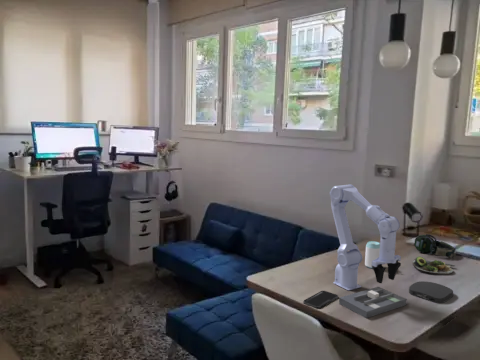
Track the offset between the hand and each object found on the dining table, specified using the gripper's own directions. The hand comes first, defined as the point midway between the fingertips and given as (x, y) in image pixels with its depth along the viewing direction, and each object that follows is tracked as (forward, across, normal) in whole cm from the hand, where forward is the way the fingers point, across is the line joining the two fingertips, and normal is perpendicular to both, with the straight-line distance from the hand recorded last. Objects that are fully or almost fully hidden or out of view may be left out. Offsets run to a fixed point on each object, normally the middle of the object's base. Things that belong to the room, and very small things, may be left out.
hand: (385, 280), depth 169 cm
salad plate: (+9, +50, +14) cm, 52 cm away
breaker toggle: (+5, -6, 0) cm, 9 cm away
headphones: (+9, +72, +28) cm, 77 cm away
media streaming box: (+9, +22, -5) cm, 25 cm away
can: (+9, +26, +30) cm, 41 cm away
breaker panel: (+8, -6, 0) cm, 11 cm away
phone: (+9, -22, +13) cm, 27 cm away
